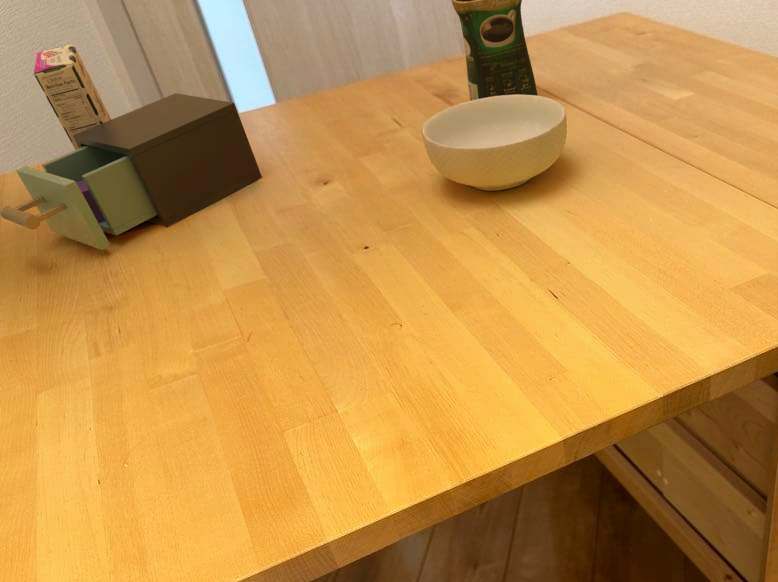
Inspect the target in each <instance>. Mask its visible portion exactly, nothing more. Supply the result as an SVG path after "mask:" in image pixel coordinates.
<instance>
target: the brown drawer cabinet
mask: <svg viewBox="0 0 778 582" xmlns="http://www.w3.org/2000/svg"><path fill="white" fill-rule="evenodd" d="M237 109H238V108H237V106H236V103H235V102H232V101H226V100H219V99H213V98H208V97H202V96H196V95H195V96H194V95H188V94H183V93H173V94H169V95H168V96H165V97H163V98H159V99H158V100H155V101H153V102H151V103H148V104H147V105H146V104H145V105H143V106H141V107H139V108H136V109H134V110H131V111H129V112H127V113H124V114H122V115H119V116H117V117H114V118H111V120H109V121H107V122H104V123H102V124H100V125H97V126H95V127H92V128H90V129H87V130H85V131H83V132H80V133H78V134H75V135H73V137H74V139H75V141H76V143H77V145H78V147H79V148H82V147H84V146H86V145H88V146H92V147H96V148H100V149H104V150H108V151H112V152H116V153H121V154H125V155H129V157H130V159H131V161H132V163H133V165H134V167H135V169H136V171H137V173H138V176H139V178H140V180H141V182H142V184H143V186H144V188H145V190H146V192H147V194H148V196H149V198H150V200H151V202H152V204H153V206H154V208H155V210H156V213H157V215H156V216H154V217H152V218H150V219H148V220H146V221H145V222H150V223H152V224H154V225H155V224H156V225H159V226H161V227H165V228H168V227H171V226H173V225H174V224H176V223H178V222H180V221H181V220H183V219H186V218H187V217H189V216H191V215H193V214H195V213H197V212H199V211H201V210H202V209H205V208H206V207H208V206H210V205H212V204H214V203H216V202H218V201H219V200H221V199H223V198H225V197H227V196H229V195H231V194H234V193H236V192H237V191H239V190H241V189H243V188H245V187H246V186H248V185H250V184H252V183H254V182H256V181H258V180H260V179H262V178H263V177H262V173H261V170H260V168H259V164H258V162H257V159H256V157H255V154H254V152H253V149H252V146H251V144H250V141H249V138H248V136H247V133H246V130H245V127H244V126H243V125H244V124H243V123H242V122H243V121H242V119H241V117H240V115H239V112H238V110H237Z"/></svg>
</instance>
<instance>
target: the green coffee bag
mask: <svg viewBox="0 0 778 582" xmlns="http://www.w3.org/2000/svg"><path fill="white" fill-rule="evenodd" d="M522 2H523V0H451V4H452V7H453V9H454V10H455V13H456V14H457V17H458V18H459V22H460V25H461V26H460V27H461V32H462V37H463V38H462V39H463V44H464V45H463V46H464V52H465V62H466V75H467V85H468V95H469V101H472V100H477V99H481V98H487V97H494V96H503V95H536V96H538V89H537V83H536V79H535V75H534V70H533V67H532V62H531V58H530V54H529V51H528V46H527V41H526V36H525V30H524V25H523V17H522Z"/></svg>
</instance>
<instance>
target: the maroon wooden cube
mask: <svg viewBox="0 0 778 582" xmlns="http://www.w3.org/2000/svg"><path fill="white" fill-rule="evenodd" d="M76 183H77V185H78V187H79V189H80V190H81V192H82V194H83V196H84V198H85V200H86V201H87V203H88V205H89V207H90V209H91V211H92V212H93V214H94V216H95V218H96V220H97V222H98V223H101V222H104V221H105V219H104V217H103V215H102V213H101V211H100V210H99V208H98V206H97V204H96V202H95V200H94V198H93V197H92V195H91V193H90V191H89V189H88V187H87V185H86V184H85V182H84V180H82V181H78V182H76Z"/></svg>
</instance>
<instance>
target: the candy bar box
mask: <svg viewBox="0 0 778 582" xmlns="http://www.w3.org/2000/svg"><path fill="white" fill-rule="evenodd" d="M32 74H33V75H34V78H35V79H36V81H37V83H38V84H39V87H40V88H41V90H42V92H43V95H45V97H46V100H47V101H48V103H49V105H50V107H51V108H52V110H53V112H54V114H55V116H56V118H57V119H58V121H59V123H60V124H61V127H62V128H63V130H64V132H65V133H66V135H67V137H68V138H69V141H70V143H71V144H72V146H73V148H74V151H75V150H77V149H79V147H78V145H77V143H76V141H75V139H74V137H73V135H75V134H78V133H80V132H83V131H85V130H87V129H90V128H92V127H95V126H97V125H100V124H102V123H104V122H107V121H109V120H112V118H111V116H110V114H109V112H108V110H107V108H106V106H105V104H104V103H103V99H102V98H101V96H100V94H99V92H98V90H97V87H96V86H95V85H94V82H93V80H92V78H91V76H90V74H89V72H88V70H87V69H86V66H85V64H84V62H83V60H82V59H81V57H80V54H79V53H78V50H77V48H76V46H75V44H74V43H73V44H67V45H66V44H65V45H62V46H57V47H53V48H50V49H44V50H41V51H39V52H36V58H35V63H34V68H33V73H32Z"/></svg>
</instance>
